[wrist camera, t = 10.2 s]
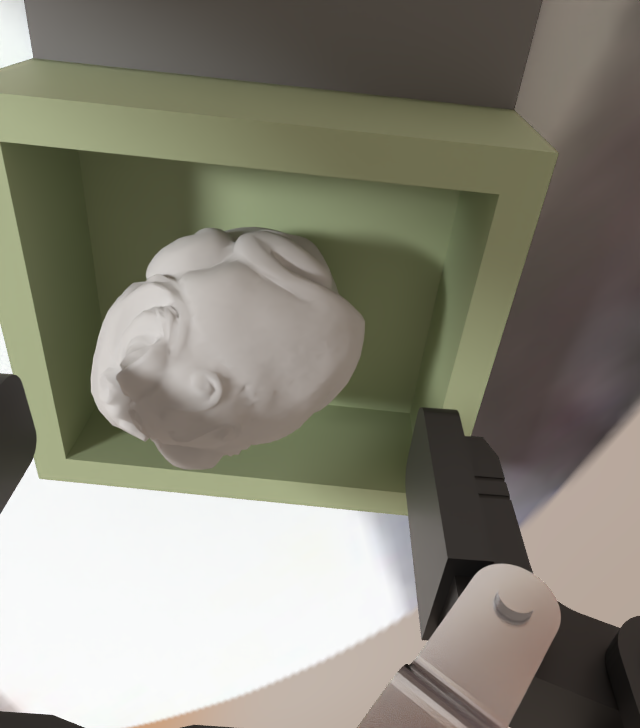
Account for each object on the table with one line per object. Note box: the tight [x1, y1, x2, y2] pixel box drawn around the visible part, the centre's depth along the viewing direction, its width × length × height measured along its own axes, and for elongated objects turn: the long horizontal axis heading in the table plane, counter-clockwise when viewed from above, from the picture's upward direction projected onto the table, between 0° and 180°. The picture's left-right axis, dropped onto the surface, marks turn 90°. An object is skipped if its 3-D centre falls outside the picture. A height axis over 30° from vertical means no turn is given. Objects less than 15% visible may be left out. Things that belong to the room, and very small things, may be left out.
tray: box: [0, 0, 559, 516], centre depth 17 cm, size 14×13×5 cm
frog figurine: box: [91, 227, 365, 470], centre depth 16 cm, size 6×7×7 cm
